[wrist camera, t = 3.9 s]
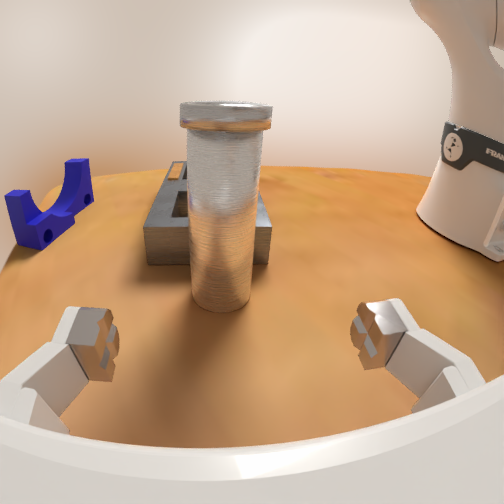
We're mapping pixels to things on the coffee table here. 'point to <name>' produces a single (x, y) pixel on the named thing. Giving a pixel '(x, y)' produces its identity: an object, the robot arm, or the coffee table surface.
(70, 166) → the cable clip
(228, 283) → the steel bushing
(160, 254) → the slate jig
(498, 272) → the coffee table surface
